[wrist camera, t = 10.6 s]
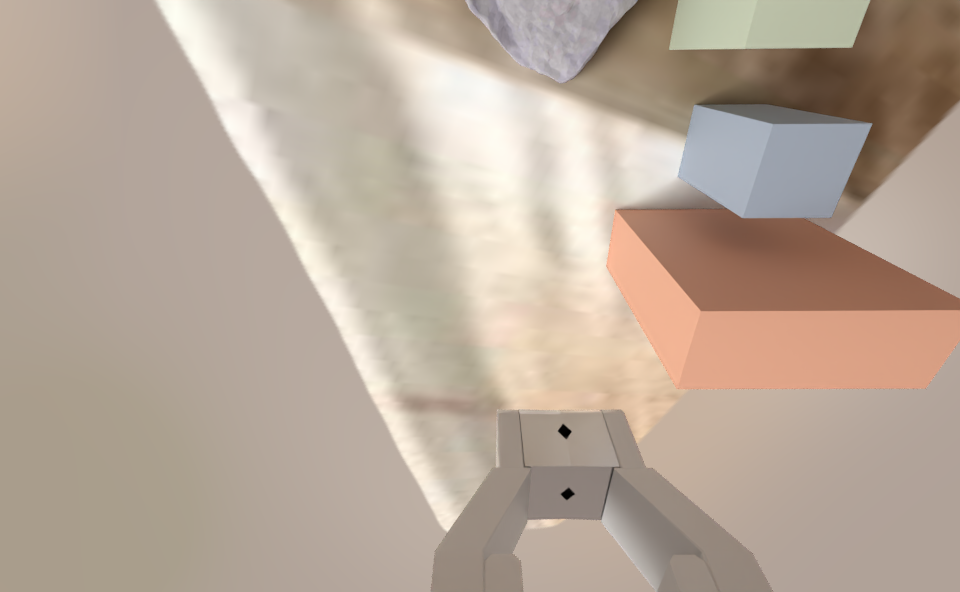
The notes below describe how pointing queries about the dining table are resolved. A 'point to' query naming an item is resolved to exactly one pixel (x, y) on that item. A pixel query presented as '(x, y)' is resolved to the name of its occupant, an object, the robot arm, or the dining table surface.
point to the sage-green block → (766, 24)
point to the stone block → (550, 30)
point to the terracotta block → (776, 304)
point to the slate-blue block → (771, 159)
